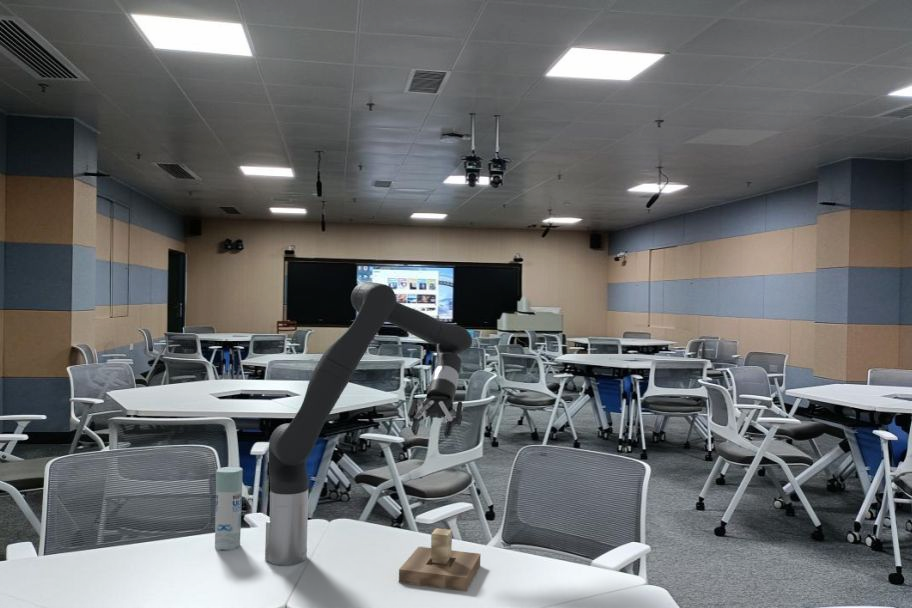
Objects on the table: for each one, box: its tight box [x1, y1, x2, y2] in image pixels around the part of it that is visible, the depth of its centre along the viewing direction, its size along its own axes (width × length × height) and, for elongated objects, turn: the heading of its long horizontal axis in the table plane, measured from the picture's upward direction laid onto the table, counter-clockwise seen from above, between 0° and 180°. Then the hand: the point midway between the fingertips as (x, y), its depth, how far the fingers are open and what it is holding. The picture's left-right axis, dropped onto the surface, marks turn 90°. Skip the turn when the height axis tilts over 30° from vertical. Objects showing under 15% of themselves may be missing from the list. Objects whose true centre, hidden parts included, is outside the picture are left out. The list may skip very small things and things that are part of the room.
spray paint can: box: [214, 466, 244, 551], centre depth 168 cm, size 6×6×20 cm
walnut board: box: [398, 546, 482, 592], centre depth 153 cm, size 16×15×3 cm
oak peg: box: [430, 527, 453, 567], centre depth 153 cm, size 4×4×10 cm
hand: (430, 434), depth 167 cm, fingers open, 8 cm apart
